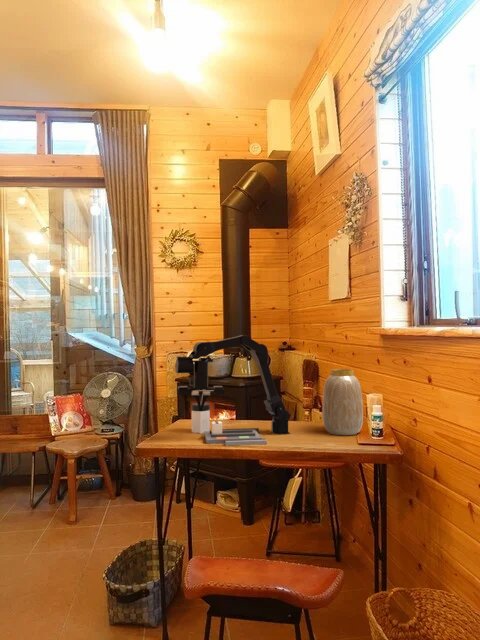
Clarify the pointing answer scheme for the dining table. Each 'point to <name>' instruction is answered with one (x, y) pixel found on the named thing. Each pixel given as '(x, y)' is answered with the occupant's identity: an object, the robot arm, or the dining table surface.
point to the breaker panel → (230, 435)
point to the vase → (342, 403)
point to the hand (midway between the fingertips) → (200, 411)
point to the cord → (244, 429)
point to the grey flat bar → (245, 442)
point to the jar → (200, 418)
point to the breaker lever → (217, 427)
